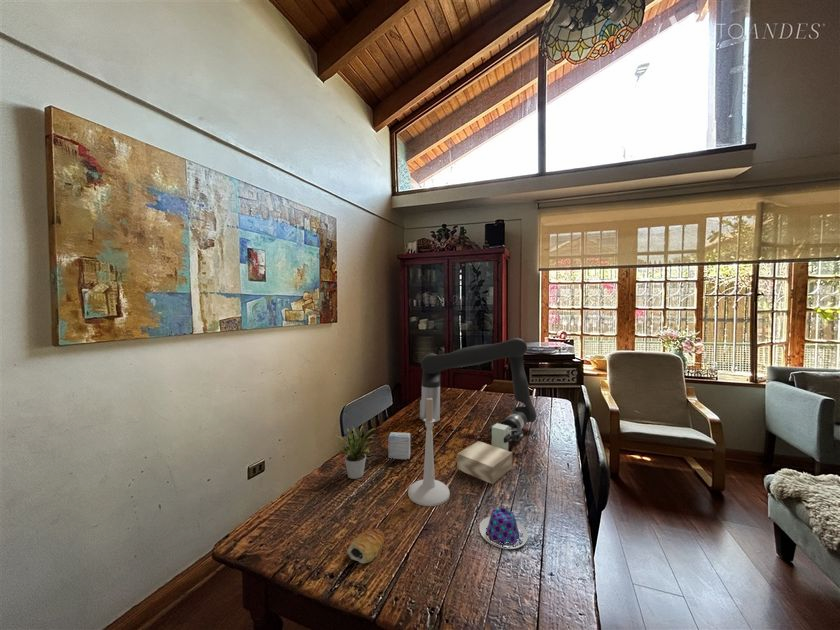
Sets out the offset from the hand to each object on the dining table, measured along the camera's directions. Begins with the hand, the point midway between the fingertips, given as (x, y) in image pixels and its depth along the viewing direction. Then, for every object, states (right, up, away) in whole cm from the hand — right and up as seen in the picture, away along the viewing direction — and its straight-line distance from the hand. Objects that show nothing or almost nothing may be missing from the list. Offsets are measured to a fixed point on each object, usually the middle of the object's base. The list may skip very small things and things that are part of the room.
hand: (497, 438), depth 124 cm
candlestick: (-27, -7, -25) cm, 38 cm away
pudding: (-9, -9, -42) cm, 44 cm away
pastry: (-43, -8, -48) cm, 65 cm away
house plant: (-51, -7, -15) cm, 53 cm away
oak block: (-7, -7, -10) cm, 14 cm away
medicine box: (-38, -7, -2) cm, 39 cm away
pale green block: (+1, -6, +2) cm, 7 cm away
